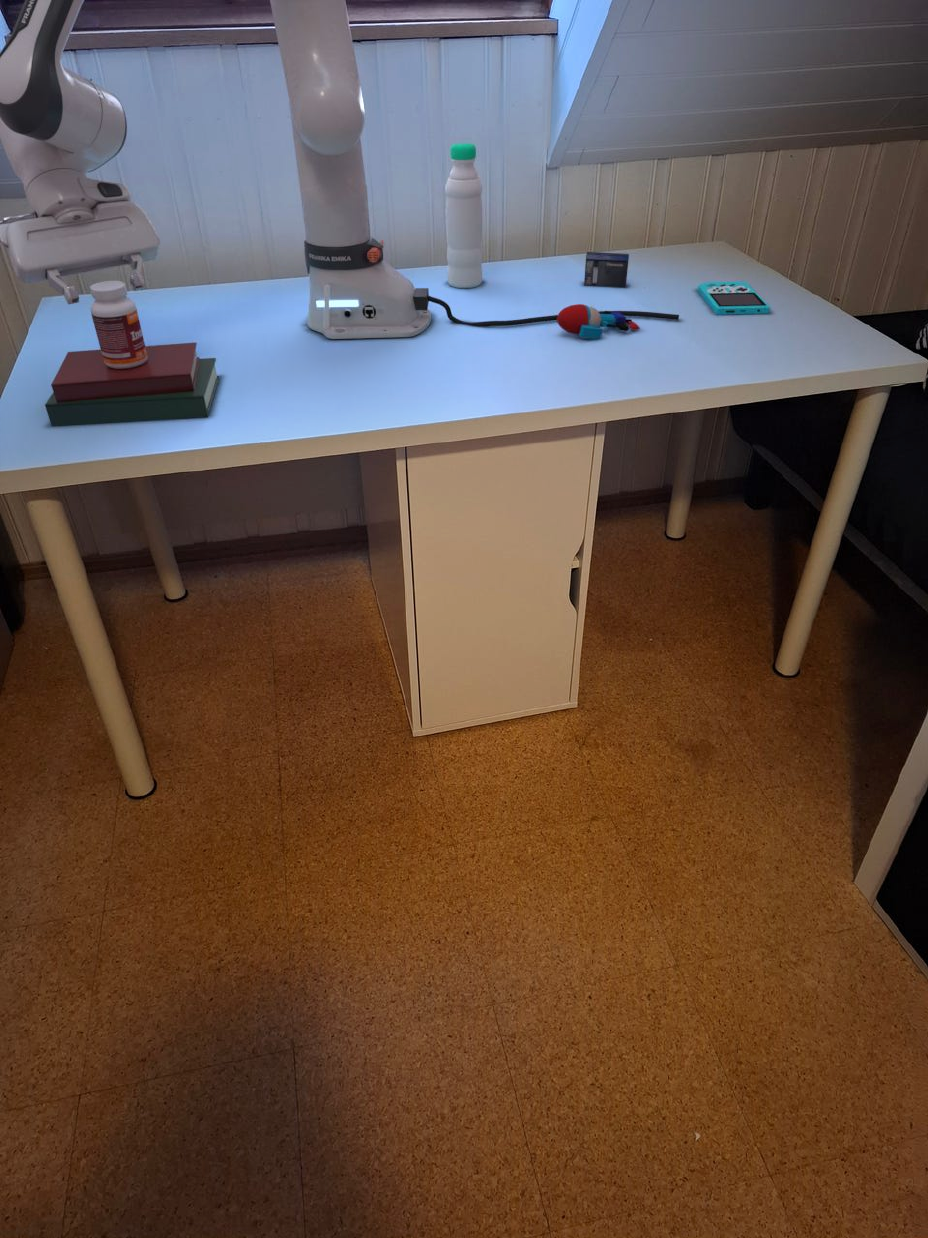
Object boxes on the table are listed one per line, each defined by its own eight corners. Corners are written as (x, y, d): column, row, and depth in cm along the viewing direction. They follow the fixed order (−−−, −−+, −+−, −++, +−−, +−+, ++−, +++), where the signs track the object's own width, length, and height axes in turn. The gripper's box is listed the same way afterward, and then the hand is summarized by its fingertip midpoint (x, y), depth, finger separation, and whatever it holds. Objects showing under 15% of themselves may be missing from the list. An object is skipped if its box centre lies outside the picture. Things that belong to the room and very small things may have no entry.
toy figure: (618, 327, 158) (546, 324, 152) (626, 300, 155) (552, 296, 149) (639, 344, 152) (564, 341, 147) (647, 316, 149) (572, 312, 144)
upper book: (199, 358, 135) (196, 342, 134) (194, 391, 125) (190, 373, 123) (72, 368, 133) (67, 351, 131) (56, 402, 123) (51, 384, 121)
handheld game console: (745, 286, 171) (747, 279, 170) (771, 313, 158) (772, 306, 157) (695, 288, 170) (696, 281, 170) (716, 314, 158) (717, 307, 157)
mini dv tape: (584, 285, 173) (586, 253, 169) (584, 283, 174) (587, 251, 170) (625, 287, 171) (628, 255, 168) (626, 285, 173) (629, 253, 169)
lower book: (219, 377, 137) (215, 357, 135) (207, 416, 126) (203, 395, 124) (77, 385, 136) (71, 365, 134) (51, 425, 124) (44, 404, 122)
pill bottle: (147, 367, 125) (128, 290, 119) (103, 372, 124) (81, 293, 118) (150, 352, 130) (132, 277, 124) (107, 356, 129) (86, 280, 123)
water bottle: (483, 278, 177) (483, 140, 162) (480, 289, 172) (480, 147, 157) (449, 278, 178) (446, 140, 163) (445, 288, 172) (441, 147, 157)
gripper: (-13, 204, 116) (31, 296, 115) (137, 183, 125) (177, 268, 125) (-9, 233, 121) (32, 321, 121) (134, 211, 131) (173, 292, 130)
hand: (107, 294), depth 123 cm, fingers open, 8 cm apart
